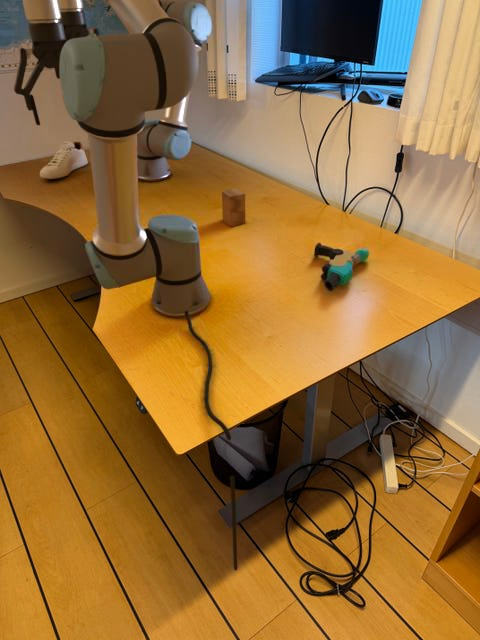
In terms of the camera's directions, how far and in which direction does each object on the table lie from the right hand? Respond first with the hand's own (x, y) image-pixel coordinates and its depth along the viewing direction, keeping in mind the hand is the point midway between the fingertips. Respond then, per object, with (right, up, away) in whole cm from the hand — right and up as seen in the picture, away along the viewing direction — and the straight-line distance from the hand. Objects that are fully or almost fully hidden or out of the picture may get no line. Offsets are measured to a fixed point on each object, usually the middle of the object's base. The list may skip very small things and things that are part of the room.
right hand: (66, 120), depth 120 cm
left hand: (-7, +26, +36) cm, 44 cm away
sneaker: (-34, +15, +91) cm, 98 cm away
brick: (+42, -16, +47) cm, 65 cm away
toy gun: (+71, -36, +18) cm, 81 cm away
